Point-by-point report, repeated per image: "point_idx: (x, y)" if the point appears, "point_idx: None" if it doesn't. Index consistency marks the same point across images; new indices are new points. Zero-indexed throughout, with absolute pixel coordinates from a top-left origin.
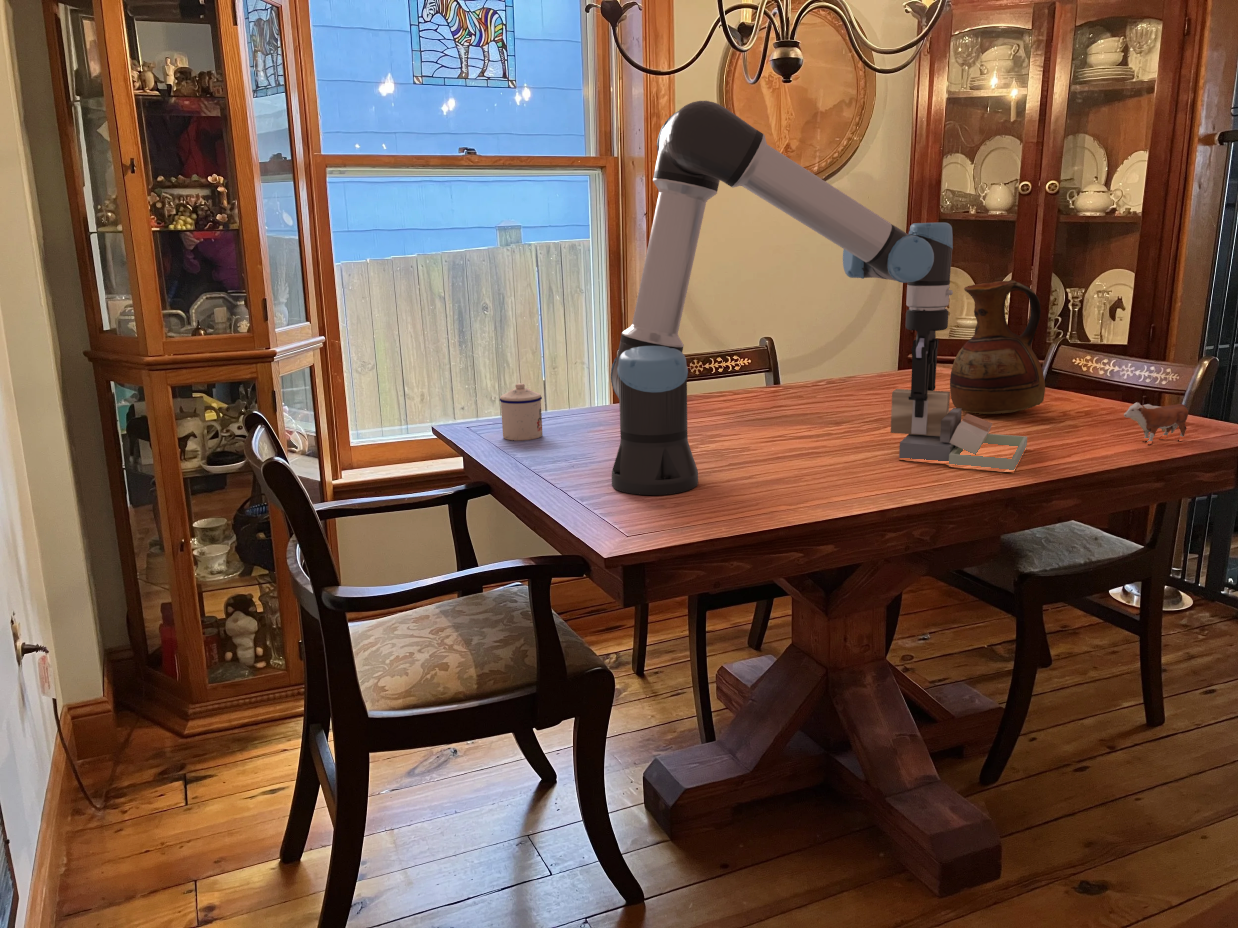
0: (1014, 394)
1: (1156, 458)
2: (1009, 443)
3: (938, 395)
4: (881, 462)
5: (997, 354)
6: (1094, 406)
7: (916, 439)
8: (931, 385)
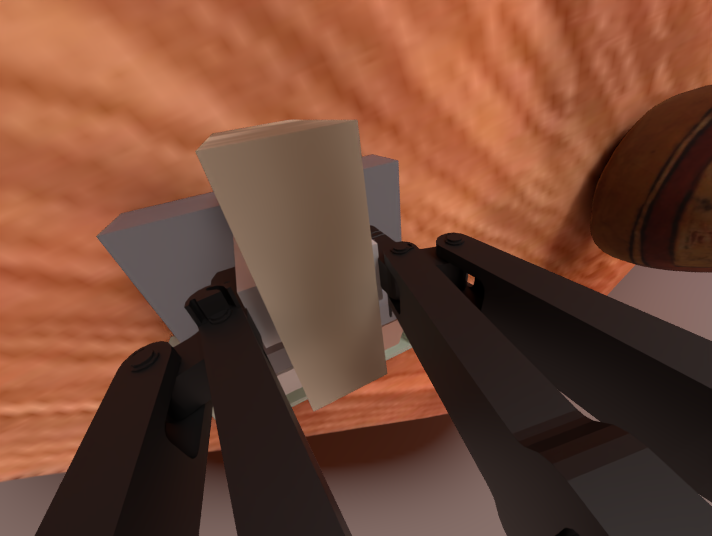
0: (620, 243)
1: (411, 417)
2: None
3: (303, 387)
4: (31, 172)
5: None
6: (623, 262)
7: (204, 254)
8: (403, 330)
